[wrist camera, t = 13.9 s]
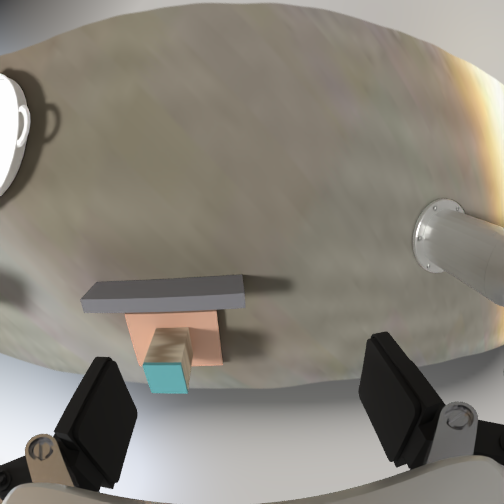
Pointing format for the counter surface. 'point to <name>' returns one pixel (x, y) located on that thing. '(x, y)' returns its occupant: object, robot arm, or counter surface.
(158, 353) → the block
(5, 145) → the pan
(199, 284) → the board
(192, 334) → the terracotta tile
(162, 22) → the counter surface
